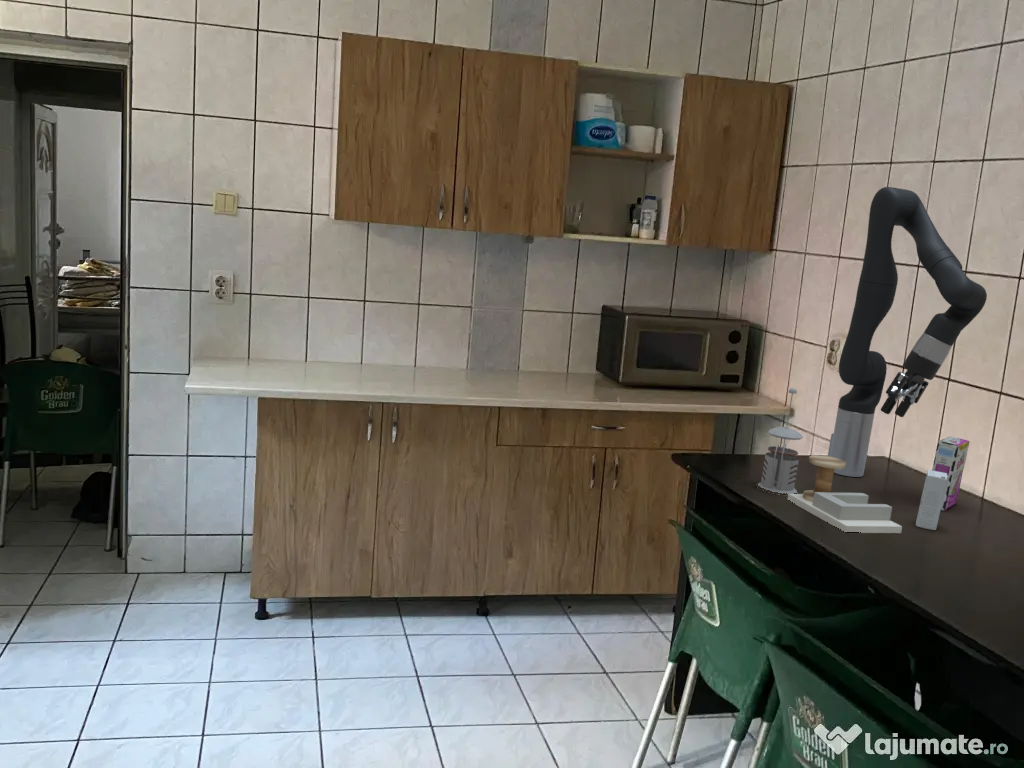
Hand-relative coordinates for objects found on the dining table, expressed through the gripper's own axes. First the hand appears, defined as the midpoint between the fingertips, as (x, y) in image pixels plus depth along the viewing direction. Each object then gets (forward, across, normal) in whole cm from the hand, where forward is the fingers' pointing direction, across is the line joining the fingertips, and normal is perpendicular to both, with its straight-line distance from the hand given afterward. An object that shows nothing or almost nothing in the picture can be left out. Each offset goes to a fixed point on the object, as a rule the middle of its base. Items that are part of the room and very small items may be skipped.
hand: (891, 414), depth 225 cm
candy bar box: (+14, -11, +18) cm, 25 cm away
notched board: (+22, +24, +12) cm, 35 cm away
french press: (+27, +20, -6) cm, 34 cm away
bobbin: (+22, +22, +5) cm, 32 cm away
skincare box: (+16, +11, +24) cm, 31 cm away
